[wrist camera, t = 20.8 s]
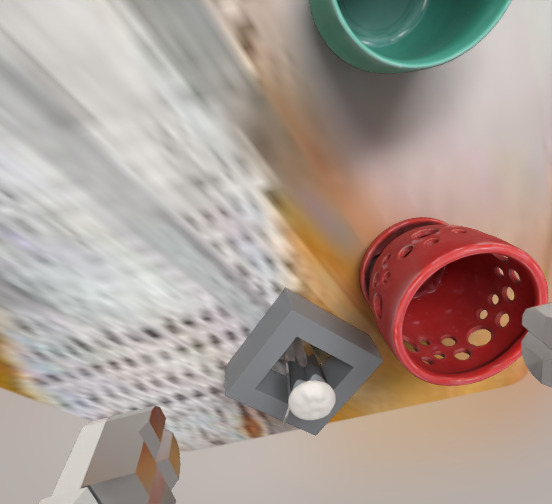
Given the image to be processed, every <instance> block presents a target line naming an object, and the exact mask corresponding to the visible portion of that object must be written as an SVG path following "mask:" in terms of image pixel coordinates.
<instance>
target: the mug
mask: <svg viewBox="0 0 552 504" xmlns="http://www.w3.org/2000/svg"><path fill="white" fill-rule="evenodd" d="M511 2H512V0H309V4H310V9H311V13H312V16H313V19H314V22H315V25H316V27H317V29H318V31H319V33H320V35H321V37H322V38H323V40H324V41H325V43H326V44H327V45H328V47H329V48H330V49H331V50H332V51H333V52H334V53H335V54H336V55H337V56H338V57H339V58H341V59H342V60H343V61H345V62H347V63H348V64H350V65H352V66H354V67H356V68H359V69H361V70H365V71H368V72H374V73H403V72H411V71H418V70H423V69H428V68H432V67H435V66H439V65H442V64H444V63H447V62H449V61H451V60H453V59H455V58H457V57H459V56H461V55H462V54H464V53H465V52H467V51H469V50H470V49H471V48H473V47H474V46H475V45H476V44H478V43H479V42H480V41H481V40H482V39H483V38H484V37H485V36H486V35H487V34H488V33H489V32H490V31H491V30H492V29H493V28H494V26H495V25H496V24H497V23H498V22H499V20H500V19H501V17H502V16H503V15H504V13H505V12H506V10H507V8H508V7H509V5H510V4H511Z"/></svg>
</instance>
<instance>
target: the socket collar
mask: <svg viewBox="0 0 552 504" xmlns="http://www.w3.org/2000/svg"><path fill="white" fill-rule="evenodd" d="M296 337H298V338H300V339H302V340H304V341H306V342H308V343H310V344H312V345H313V346H315V347H317V348H319V349H321V350H323V351H325V352H327V353H328V354H330V355H331V356H330V357H329V358H328V359H327V361H326V362H325V363H324V364H323V365H322V368H323V370H324V372H325V374H326V376H327V378H328V380H329V382H330V384H331V386H332V388H333V390H334V393H335V404H334V406H333V408H332V410H331V411H330V413H329V414H328V415H327V416H325V417H323V418H320V419H316V420H304V419H301V418H298V417H296V416H295V415H294V414H293V413H292V412H291V410H289V413H288V416H287V419H286V423H288V424H291V425H293V426H295V427H298V428H300V429H302V430H304V431H307V432H309V433H311V434H313V435H317V434H318V433H319V431H320V430H321V429H322V428H323V427H324V426H325V425H326V424H327V423H328V422H329V420H330V419H331V418H332V417H333V416H334V415H335V414H336V413H337V412H338V411H339V409H340V408H341V407H342V406H343V405H344V404H345V403H346V402H347V401H348V400H349V398H350V397H351V396H352V395H353V394H354V393H355V392H356V391H357V390H358V389H359V387H360V386H361V385H362V384H363V383H364V382H365V381H366V380H367V379H368V378H369V376H370V375H371V374H372V373H373V372H374V371H375V370H376V369H377V368H378V367H379V365H380V364H381V363H382V362H383V361H384V360H383V359H382V357H381V355H380V353H379V352H378V350H377V348H376V346H375V344H374V343H373V341H372V339H371V337H370V336H369V335H368V334H366V333H364V332H362V331H361V330H359V329H357V328H355V327H354V326H352V325H350V324H348V323H347V322H345V321H343V320H341V319H340V318H338V317H336V316H334V315H333V314H331V313H329V312H327V311H326V310H324V309H322V308H320V307H319V306H317V305H315V304H314V303H312V302H310V301H308V300H307V299H305V298H303V297H301V296H300V295H298V294H296V293H294V292H293V291H291V290H289V289H287V288H285V289H284V290H283V292H282V293H281V294H280V296H279V297H278V298H277V300H276V301H275V302H274V304H273V305H272V306H271V308H270V309H269V310H268V311H267V313H266V314H265V315H264V317H263V318H262V319H261V321H260V322H259V323H258V325H257V326H256V327H255V329H254V330H253V331H252V333H251V334H250V335H249V337H248V338H247V339H246V341H245V342H244V343H243V344H242V346H241V347H240V348H239V350H238V351H237V352H236V354H235V355H234V356H233V358H232V359H231V360H230V362H229V363H228V364H227V366H226V372H225V396H227V397H230V398H232V399H234V400H236V401H239V402H241V403H243V404H246V405H248V406H250V407H252V408H255V409H257V410H259V411H261V412H264V413H266V414H268V415H270V416H273V417H275V418H277V419H279V420H282V421H284V418H285V415H286V412H287V409H288V406H289V404H288V383H287V377H285V376H283V375H281V374H279V373H277V372H275V371H273V370H271V368H272V367H273V366H274V365H275V363H276V362H277V361H278V360H279V358H280V357H281V356H282V355H283V353H284V352H285V351H286V350H287V348H288V347H289V346H290V345H291V343H292V342H293V341H294V340H295V338H296Z"/></svg>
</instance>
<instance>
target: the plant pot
mask: <svg viewBox="0 0 552 504" xmlns="http://www.w3.org/2000/svg"><path fill="white" fill-rule="evenodd" d="M504 256H506V257H508V258H506V257H504ZM499 268H500V269H501V270H502V271H503V274H504V275H502V274H501V273H500V271H499ZM514 270H515V271H516V272H517V273H518V275H519V277H520V280H519V279H518V278H517V277H516V275H515V273H514ZM360 285H361V289H362V292H363V295H364V297H365V299H366V301H367V302H368V304H369V305H370V306H371V309H372V312H373V315H374V318H375V320H376V323H377V326H378V328H379V330H380V332H381V334H382V336H383V338H384V340H385V341H386V343H387V345H388V346H389V348H390V349H391V351H392V352H393V353H394V355H395V356H396V357H397V359H398V360H399V361H400V362H401V364H402V365H403V366H404V367H405V368H406V369H407V370H408V371H409V372H410V373H411V374H413V375H414V376H416V377H418V378H419V379H421V380H423V381H426V382H429V383H432V384H437V385H445V386H458V385H467V384H471V383H475V382H479V381H482V380H484V379H487V378H489V377H491V376H493V375H495V374H497V373H499V372H500V371H502V370H504V369H505V368H507V367H508V366H509V365H511V364H512V363H513V362H515V361H516V360H517V359H518V358H519V357H520V356H521V355H522V348H521V341H522V340H523V338H524V337H525V335H526V334H527V333H528V330H527V329H526V328H525V327H524V326H523V325H522V316H523V313H524V312H525V310H526V309H527V308H531V307H535V306H538V305H542V304H546V303H548V287H547V282H546V279H545V276H544V274H543V272H542V270H541V268H540V267H539V265H538V264H537V262H536V261H535V260H534V259H533V258H532V257H531V256H530V255H529V254H527V253H526V252H524V251H523V250H521V249H519V248H517V247H515V246H513V245H511V244H509V243H507V242H505V241H503V240H501V239H499V238H497V237H494V236H492V235H488V234H485V233H483V232H480V231H478V230H475V229H471V228H467V227H462V226H455V225H449V224H447V223H445V222H443V221H440V220H437V219H433V218H425V217H420V218H412V219H407V220H404V221H401V222H399V223H396V224H394V225H393V226H391V227H389V228H388V229H386V230H385V231H383V232H382V233H381V234H380V235H379V236H378V237H377V238H376V239H375V240H374V241H373V242H372V244H371V245H370V247H369V248H368V250H367V252H366V253H365V255H364V258H363V261H362V264H361V269H360ZM508 287H511V288H512V290H513V291H514V300H513V301H512V300H510V299H509V298H508V296H507V288H508ZM494 294H496V295H497V296H498V298H499V301H498V303H497V304H496V305H495V304H494V303H493V302H492V297H493V295H494ZM483 310H487V312H488V315H487V317H486V318H485V319H481V318H480V313H481V312H482V311H483ZM505 313H507V314H508V315H509V322H508V323H507V325H506V326H505V327H502V326H501V325H500V318H501V317H502V315H503V314H505ZM479 329H486V330H488V331H490V332H491V340H490V341H489V342H488V343H487V344H485V345H483V346H475V345H472V344H470V343H469V342H468V337H469V336H470V334H471V333H473V332H474V331H476V330H479ZM445 338H451V339H453V340H454V341H455V342H456V344H455V345H453V346H445V345H443V344H442V342H441V341H442V340H443V339H445ZM403 340H404V341H406V342H408V343H409V344H410V345H412V346H413V348H414V349H415V351H416V352H413V351H410V350H408V349H407V348H406V347H405V346H404V342H403ZM419 341H424V342H426V343H427V344H428V345H422V344H421V343H420V342H419ZM460 352H464V353H467V354H469V355H470V357H469V358H468V359H466V360H459V359H457V358H456V357H455V354H457V353H460ZM434 355H441V356H443V357H444V358H443V359H438V358H436V357H434ZM422 360H423V361H426V362H428V363H429V364H430V365H429V364H426V363H425V362H423V361H422Z"/></svg>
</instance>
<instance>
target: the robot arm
mask: <svg viewBox="0 0 552 504" xmlns="http://www.w3.org/2000/svg"><path fill="white" fill-rule="evenodd" d="M522 325H523V326H524V327H525V328H526V329H527V330H528V333H527V334H526V335H525V337H524V338H523V340H522V341H521V348H522V356H523V359H524V361H525V364H526V366H527V368H528V369H529V370H530V372H531V373H532V374H533V376H534V377H535V378H536V379H538V381H540V382H541V384H544V385H546V386H549V387H552V302H550V303H546V304H542V305H538V306H535V307H531V308H527V309H526V310H525V312H524V313H523V316H522ZM165 420H166V418H165V416H164V414H163V412H162V410H161V408H160V407H157V406H153V407H149V408H144V409H140V410H136V411H132V412H128V413H123V414H119V415H115V416H111V417H109V418H104V419H100V420H96V421H92V422H88V423H87V424H86V425H85V426H84V427H83V428H82V429H81V432H80V434H79V436H78V438H77V440H76V443H75V445H74V447H73V450H72V451H71V454H70V456H69V458H68V460H67V463H66V465H65V467H64V469H63V471H62V474H61V476H60V478H59V480H58V482H57V485H56V487H55V489H54V491H53V493H52V496H51V497H47V498H44V499H43V500H42V501H40V502H39V503H38V504H175V503H176V500H175V498H174V496H173V494H172V492H171V489H172V488H173V487H174V485H175V484H176V482H177V481H178V480H179V473H180V456H179V455H180V453H179V448H178V444H177V441H176V439H175V436H174V434H173V433H172V432H170V431H168V430H167V429H165V428H164V425H165Z"/></svg>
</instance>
